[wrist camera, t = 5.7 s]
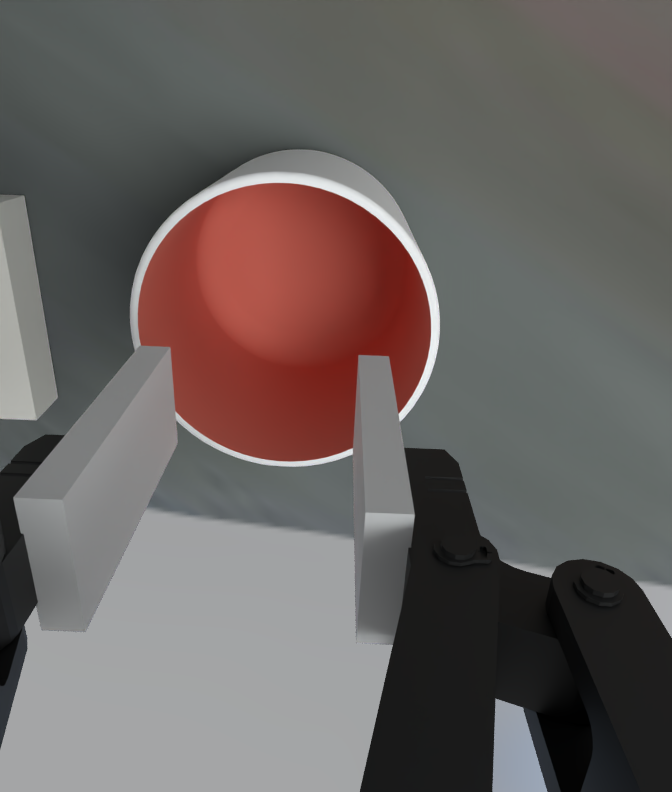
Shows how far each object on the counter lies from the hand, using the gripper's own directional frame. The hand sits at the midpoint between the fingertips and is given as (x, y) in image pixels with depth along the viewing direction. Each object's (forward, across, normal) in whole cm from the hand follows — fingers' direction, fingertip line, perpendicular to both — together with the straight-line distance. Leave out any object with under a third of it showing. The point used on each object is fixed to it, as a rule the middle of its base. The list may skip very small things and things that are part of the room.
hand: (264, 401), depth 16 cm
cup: (+15, 0, 0) cm, 15 cm away
